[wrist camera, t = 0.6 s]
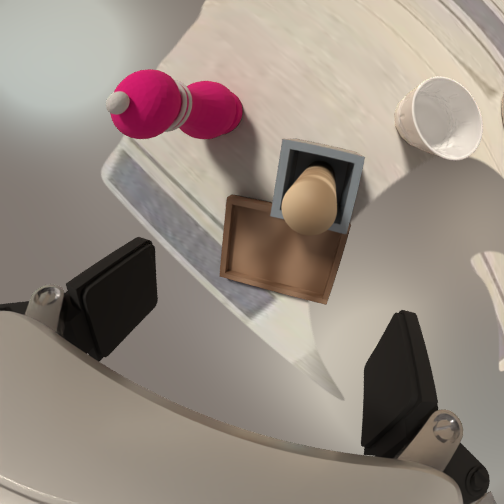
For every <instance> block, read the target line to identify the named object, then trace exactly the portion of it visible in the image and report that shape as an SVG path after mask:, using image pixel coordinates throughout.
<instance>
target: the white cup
mask: <svg viewBox="0 0 504 504" xmlns="http://www.w3.org/2000/svg"><path fill="white" fill-rule="evenodd" d="M394 117H395V126H396V128H397V130H398V132H399V134H400V136H401V137H402V138H403V139H404V140H405V141H406V142H408V143H409V144H410V145H412V146H415V147H417V148H419V149H421V150H423V151H426V152H428V153H431V154H434V155H437V156H439V157H442V158H445V159H448V160H462V159H465V158H467V157H469V156H470V155H472V154H473V153H474V152H475V151H476V149H477V148H478V146H479V144H480V141H481V138H482V133H483V122H482V116H481V112H480V109H479V107H478V105H477V103H476V101H475V99H474V98H473V96H472V95H471V94H470V92H469V91H468V90H467V89H466V88H465V87H464V86H463V85H461V84H460V83H458V82H457V81H455V80H453V79H450V78H447V77H440V76H438V77H431V78H429V79H427V80H425V81H423V82H422V83H421V84H420V85H418V86H417V87H416V88H414V89H413V90H412V91H410V92H409V93H408V94H407V95H406V96H405V97H404V98H403V100H401V101H400V102H399V103H398V105H397V108H396V110H395V113H394Z"/></svg>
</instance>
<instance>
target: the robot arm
mask: <svg viewBox="0 0 504 504" xmlns="http://www.w3.org/2000/svg"><path fill="white" fill-rule="evenodd" d="M502 118H503V124H504V94H503V98H502ZM66 286H67V290H68V291H67V292H66V293H64V290H63V288H62V287H60V286H58V285H54V284H50V285H45V286H42V287H40V288H38V289H37V290H36V291H35V292H34V293H33V294H32V296H31V298H30V301H27V302H18V303H8V304H0V504H496V502H495V500H494V497H493V495H492V493H491V491H490V492H488V493H487V489H488V487H489V474H488V471H487V470H486V468H485V467H484V466H483V465H482V464H481V463H480V462H479V461H478V460H477V459H476V458H475V457H474V456H473V455H472V454H471V453H470V452H469V451H468V450H467V449H466V448H465V447H464V446H463V445H462V444H461V443H460V442H461V439H462V437H463V427H462V423H461V421H460V419H459V418H458V417H457V416H456V415H455V414H454V413H453V412H451V411H449V410H438V406H437V403H438V400H437V395H436V389H435V384H434V380H433V375H432V371H431V366H430V362H429V358H428V354H427V350H426V346H425V342H424V339H423V335H422V332H421V328H420V325H419V322H418V318H417V315H416V314H415V313H412V312H409V311H405V310H401V311H400V312H399V313H395V314H394V315H393V317H392V319H391V321H390V323H389V324H388V326H387V328H386V330H385V332H384V334H383V335H382V337H381V339H380V341H379V342H378V344H377V346H376V348H375V349H374V351H373V353H372V354H371V356H370V358H369V359H368V361H367V363H366V365H365V368H364V400H363V422H362V437H361V446H363V447H365V449H364V455H357V454H350V453H343V452H336V451H330V450H326V449H320V448H315V447H309V446H305V445H300V444H296V443H291V442H287V441H283V440H279V439H275V438H272V437H268V436H265V435H261V434H257V433H254V432H251V431H248V430H245V429H241V428H239V427H236V426H233V425H230V424H227V423H224V422H221V421H218V420H215V419H213V418H211V417H208V416H205V415H203V414H200V413H198V412H195V411H193V410H191V409H188V408H186V407H184V406H181V405H179V404H177V403H175V402H172V401H170V400H168V399H166V398H164V397H161V396H159V395H157V394H156V393H153V392H152V391H149V390H148V389H146V388H144V387H142V386H140V385H138V384H136V383H134V382H132V381H131V380H129V379H127V378H125V377H123V376H122V375H120V374H118V373H117V372H115V371H113V370H111V369H110V368H108V367H106V366H105V365H103V364H102V363H100V362H99V361H100V360H101V359H102V358H103V357H107V356H108V355H109V354H110V353H111V352H112V351H113V350H114V349H115V348H116V347H117V346H118V345H119V344H120V343H121V342H122V341H123V340H124V339H125V338H126V336H127V335H128V334H129V333H130V332H131V331H132V330H133V329H134V328H135V327H136V326H137V325H138V324H139V323H140V322H141V321H142V320H143V319H144V318H145V317H146V316H147V315H148V314H149V313H150V312H151V311H152V310H153V308H155V306H156V304H157V299H158V298H157V283H156V264H155V247H154V246H153V245H152V242H151V241H150V240H147V239H144V238H141V237H137V238H135V239H133V240H132V241H130V242H128V243H127V244H125V245H124V246H122V247H120V248H119V249H117V250H116V251H114V252H112V253H111V254H109V255H108V256H106V257H105V258H103V259H102V260H100V261H99V262H97V263H96V264H94V265H93V266H91V267H90V268H88V269H87V270H85V271H84V272H82V273H81V274H79V275H78V276H76V277H75V278H73V279H72V280H71V281H69V282H68V283H66ZM87 353H88V354H89V355H87ZM365 455H373V456H365Z"/></svg>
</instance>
